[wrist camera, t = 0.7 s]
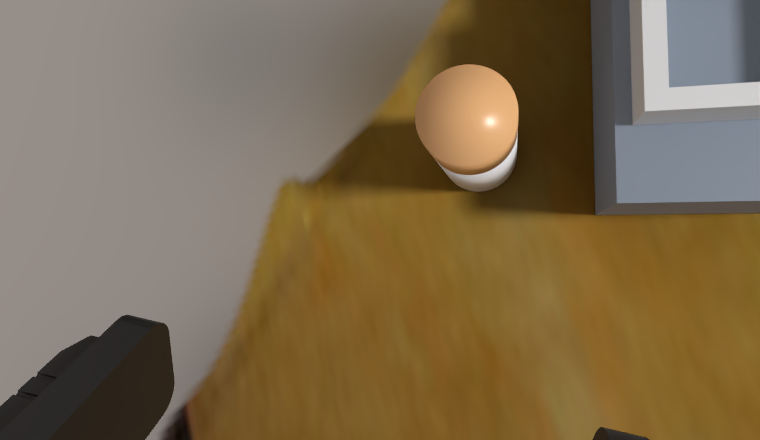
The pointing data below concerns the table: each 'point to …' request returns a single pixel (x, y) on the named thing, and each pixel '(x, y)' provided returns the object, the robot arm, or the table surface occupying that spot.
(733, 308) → the table surface
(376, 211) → the table surface
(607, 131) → the grey box
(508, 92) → the capped container
